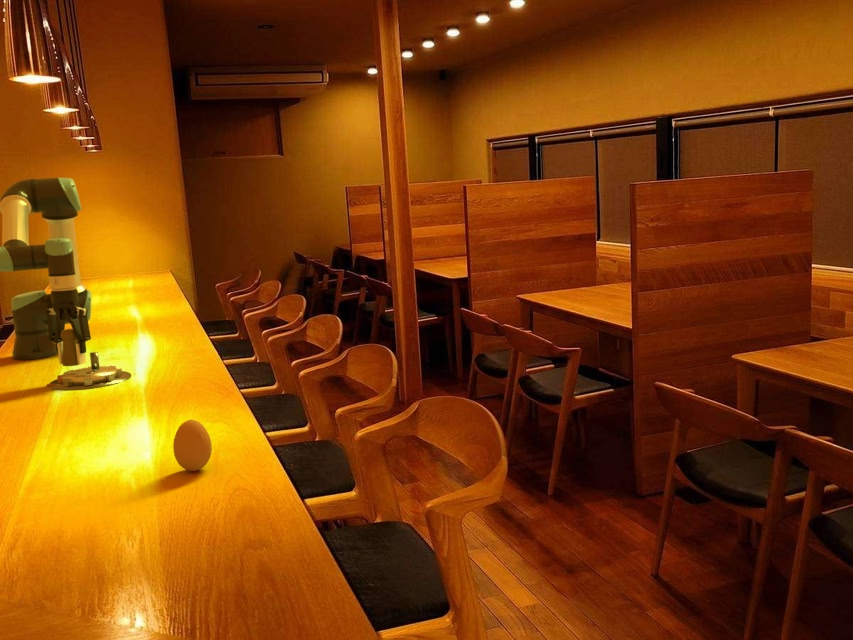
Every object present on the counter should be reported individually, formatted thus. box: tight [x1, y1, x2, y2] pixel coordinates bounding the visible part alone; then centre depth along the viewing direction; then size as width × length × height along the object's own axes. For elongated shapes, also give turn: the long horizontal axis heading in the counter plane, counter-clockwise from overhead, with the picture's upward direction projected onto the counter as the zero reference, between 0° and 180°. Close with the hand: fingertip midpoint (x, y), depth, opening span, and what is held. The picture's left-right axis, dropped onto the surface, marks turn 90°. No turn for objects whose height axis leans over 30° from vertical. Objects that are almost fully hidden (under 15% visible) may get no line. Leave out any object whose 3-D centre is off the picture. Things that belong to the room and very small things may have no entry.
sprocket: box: [56, 351, 123, 386], centre depth 249 cm, size 19×19×7 cm
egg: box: [172, 419, 213, 472], centre depth 164 cm, size 8×8×11 cm
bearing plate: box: [46, 370, 132, 391], centre depth 250 cm, size 24×24×1 cm
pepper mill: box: [60, 328, 79, 367], centre depth 246 cm, size 6×6×11 cm
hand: (72, 363), depth 246 cm, fingers closed on pepper mill, 6 cm apart
